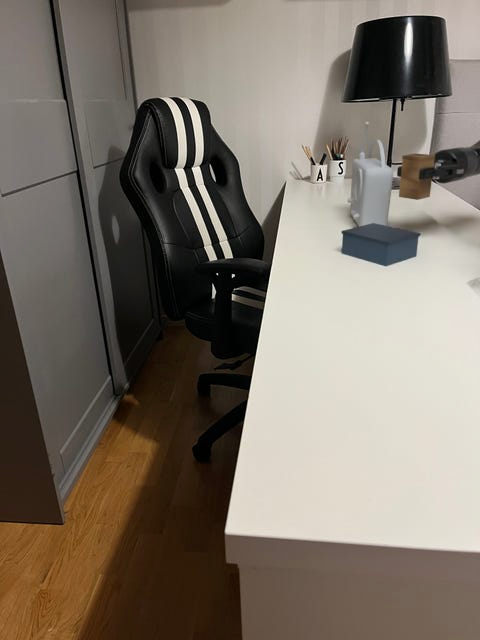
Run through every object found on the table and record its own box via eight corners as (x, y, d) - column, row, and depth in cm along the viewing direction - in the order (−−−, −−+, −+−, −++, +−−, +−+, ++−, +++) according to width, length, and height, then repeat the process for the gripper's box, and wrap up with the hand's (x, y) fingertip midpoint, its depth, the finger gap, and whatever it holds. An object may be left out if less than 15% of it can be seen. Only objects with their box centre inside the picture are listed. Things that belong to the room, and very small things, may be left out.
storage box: (417, 256, 106) (420, 233, 104) (386, 266, 100) (388, 242, 98) (371, 244, 115) (373, 222, 113) (340, 253, 110) (341, 230, 107)
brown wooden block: (430, 197, 112) (435, 155, 108) (417, 200, 110) (422, 157, 106) (410, 194, 116) (415, 153, 112) (398, 196, 113) (402, 155, 110)
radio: (343, 213, 144) (348, 120, 134) (372, 213, 144) (380, 120, 133) (355, 233, 124) (362, 125, 114) (389, 232, 124) (399, 124, 114)
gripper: (429, 146, 122) (384, 153, 113) (485, 150, 111) (441, 157, 102) (425, 177, 125) (381, 186, 116) (480, 184, 114) (436, 195, 105)
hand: (409, 173), depth 109 cm, fingers closed on brown wooden block, 5 cm apart
